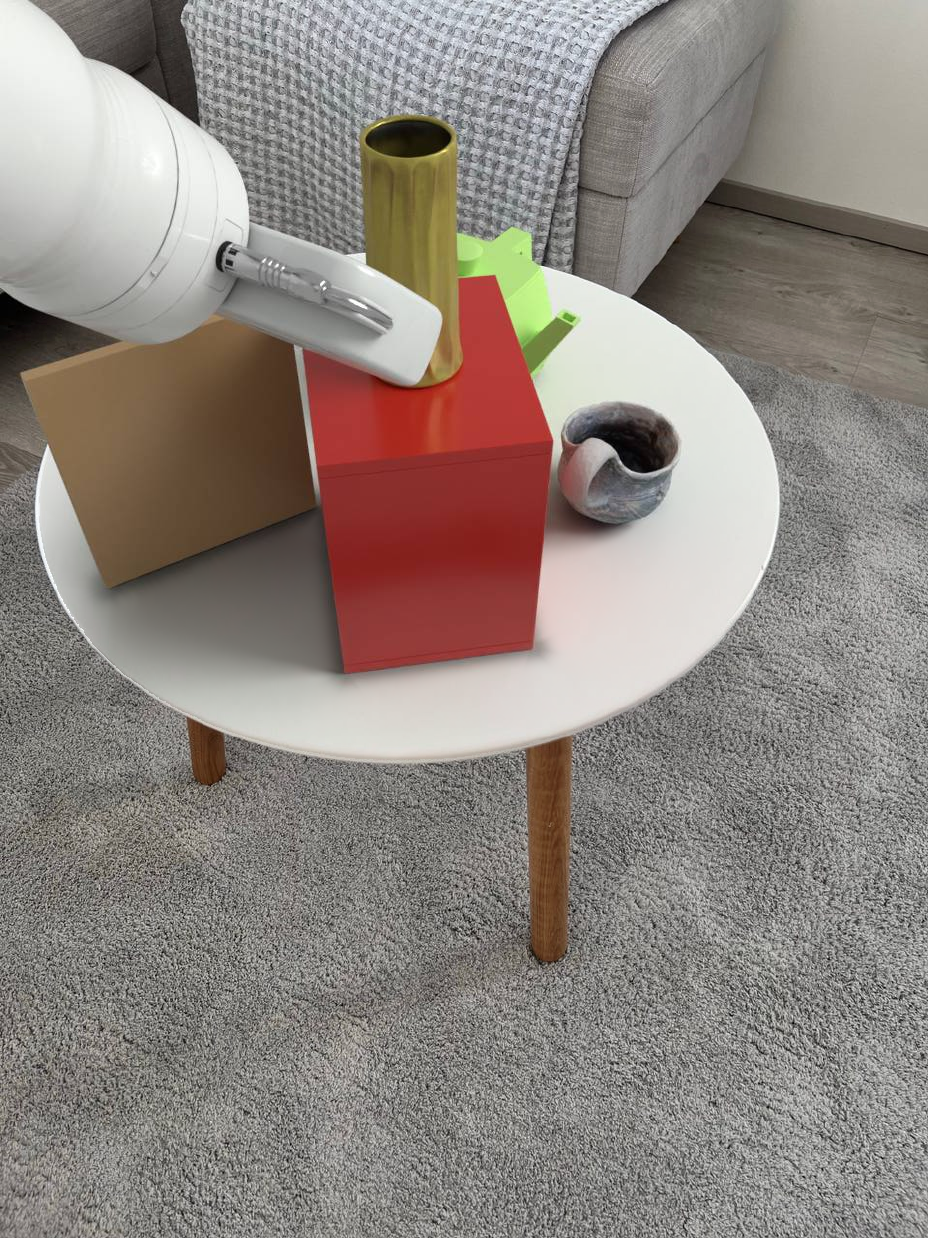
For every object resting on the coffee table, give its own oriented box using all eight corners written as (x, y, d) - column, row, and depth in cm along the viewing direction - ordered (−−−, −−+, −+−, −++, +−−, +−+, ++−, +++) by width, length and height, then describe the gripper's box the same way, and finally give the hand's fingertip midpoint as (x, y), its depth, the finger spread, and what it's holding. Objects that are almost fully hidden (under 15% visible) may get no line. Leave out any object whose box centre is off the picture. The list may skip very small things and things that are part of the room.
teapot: (618, 363, 98) (636, 237, 88) (505, 479, 87) (512, 351, 77) (460, 300, 104) (460, 177, 94) (337, 402, 94) (323, 274, 84)
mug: (681, 482, 87) (704, 387, 79) (639, 582, 80) (658, 488, 72) (575, 452, 89) (586, 357, 82) (524, 546, 82) (531, 451, 74)
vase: (467, 335, 67) (470, 112, 56) (458, 393, 63) (459, 166, 52) (375, 329, 67) (360, 106, 56) (360, 386, 63) (341, 159, 52)
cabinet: (344, 674, 74) (316, 466, 58) (323, 503, 85) (295, 291, 70) (533, 649, 75) (553, 440, 60) (487, 485, 87) (495, 274, 71)
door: (80, 538, 82) (-4, 328, 67) (285, 462, 88) (250, 254, 73) (106, 589, 79) (23, 380, 63) (317, 507, 85) (287, 298, 69)
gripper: (384, 213, 35) (506, 316, 48) (-34, 78, 42) (173, 201, 55) (322, 385, 36) (457, 442, 49) (-77, 228, 43) (136, 314, 56)
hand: (305, 314), depth 52 cm, fingers open, 8 cm apart
